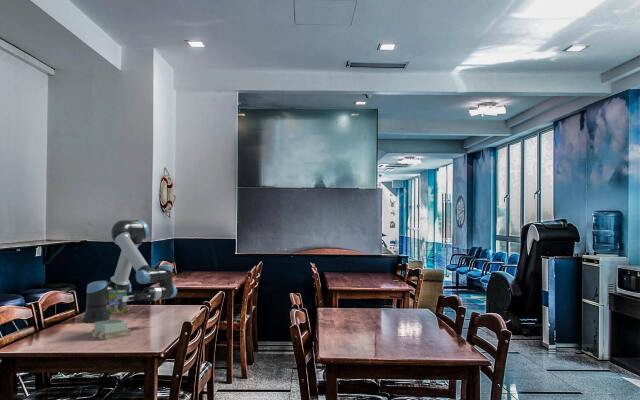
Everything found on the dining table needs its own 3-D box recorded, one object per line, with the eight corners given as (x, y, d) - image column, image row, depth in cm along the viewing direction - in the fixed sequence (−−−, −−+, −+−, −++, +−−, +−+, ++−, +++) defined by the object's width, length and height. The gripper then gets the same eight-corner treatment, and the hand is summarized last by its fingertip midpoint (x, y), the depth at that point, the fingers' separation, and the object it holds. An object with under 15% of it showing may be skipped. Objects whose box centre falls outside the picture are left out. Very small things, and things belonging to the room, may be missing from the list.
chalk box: (126, 313, 280) (127, 285, 280) (108, 314, 276) (108, 286, 277) (126, 310, 288) (126, 283, 289) (108, 311, 285) (108, 284, 285)
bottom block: (92, 337, 279) (92, 329, 279) (116, 333, 290) (116, 325, 290) (105, 341, 270) (105, 333, 270) (130, 336, 281) (130, 329, 281)
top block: (94, 329, 279) (94, 321, 279) (116, 326, 288) (116, 319, 288) (104, 333, 271) (105, 325, 271) (127, 329, 280) (127, 322, 280)
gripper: (164, 302, 291) (128, 307, 274) (139, 298, 306) (103, 302, 289) (164, 288, 292) (129, 293, 274) (139, 285, 306) (104, 288, 289)
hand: (116, 298), depth 282 cm, fingers closed on chalk box, 12 cm apart
